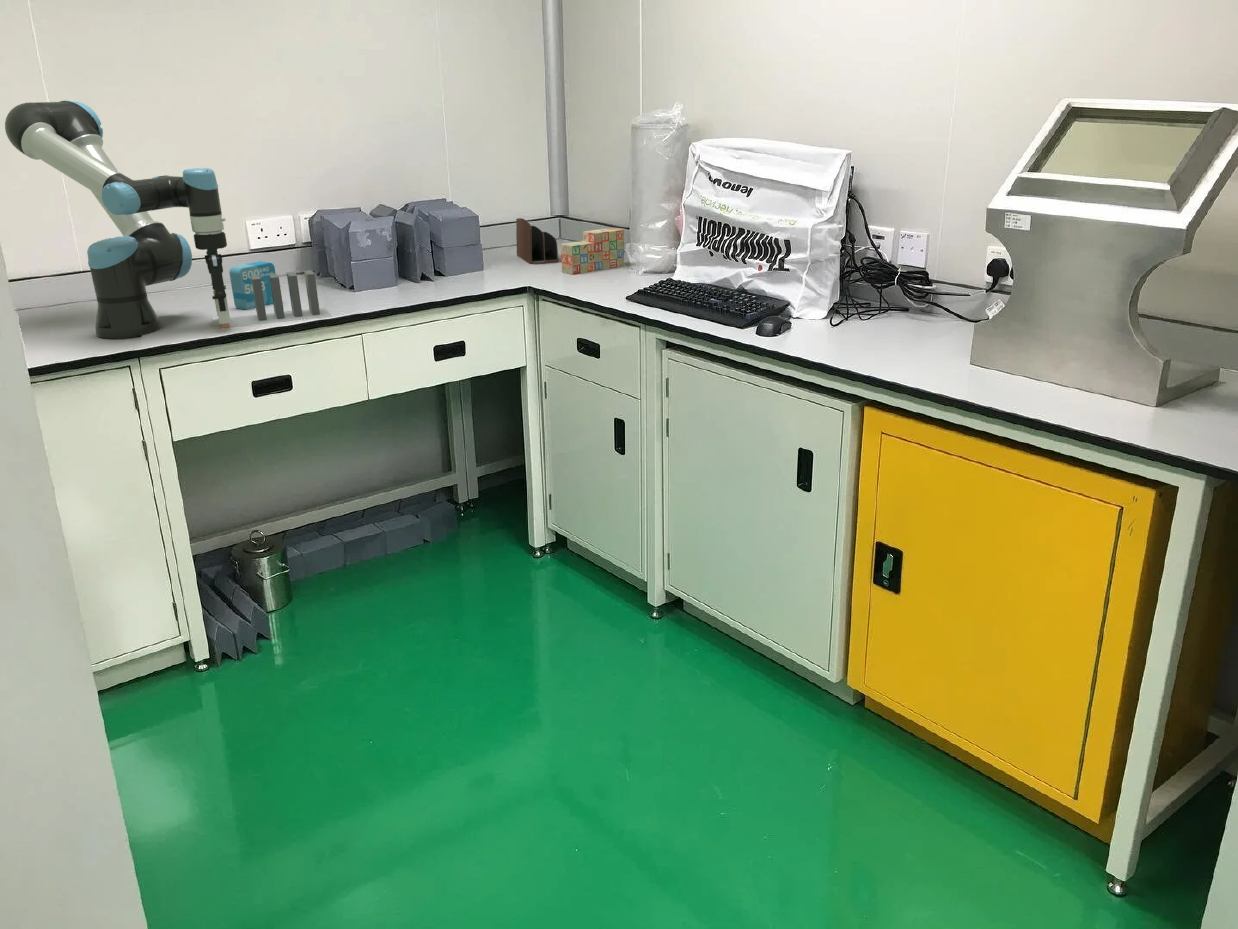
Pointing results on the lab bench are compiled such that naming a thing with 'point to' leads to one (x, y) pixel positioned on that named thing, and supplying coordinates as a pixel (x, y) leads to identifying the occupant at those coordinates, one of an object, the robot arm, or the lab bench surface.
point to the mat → (270, 318)
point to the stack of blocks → (594, 251)
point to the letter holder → (535, 244)
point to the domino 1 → (225, 323)
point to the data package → (250, 283)
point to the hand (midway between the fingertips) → (223, 318)
